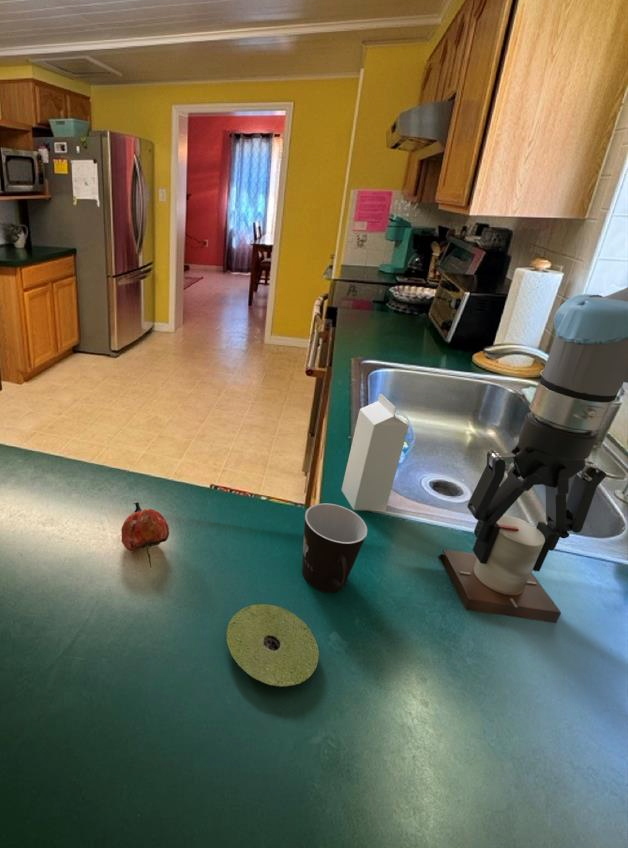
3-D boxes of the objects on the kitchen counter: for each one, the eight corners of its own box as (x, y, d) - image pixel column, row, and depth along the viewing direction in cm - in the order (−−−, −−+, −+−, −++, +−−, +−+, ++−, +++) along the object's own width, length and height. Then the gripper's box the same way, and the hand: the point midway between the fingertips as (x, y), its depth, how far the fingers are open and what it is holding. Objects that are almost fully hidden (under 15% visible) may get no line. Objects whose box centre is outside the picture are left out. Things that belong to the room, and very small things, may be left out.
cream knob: (509, 565, 73) (530, 516, 69) (532, 598, 67) (556, 547, 63) (466, 559, 73) (484, 510, 70) (484, 591, 67) (505, 540, 64)
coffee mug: (303, 547, 77) (314, 496, 73) (358, 569, 73) (372, 517, 69) (280, 595, 67) (290, 540, 63) (341, 624, 63) (356, 566, 60)
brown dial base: (517, 568, 75) (522, 557, 74) (557, 625, 65) (563, 613, 64) (438, 557, 76) (442, 546, 75) (466, 611, 67) (470, 599, 66)
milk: (369, 498, 90) (397, 393, 82) (384, 518, 85) (414, 408, 76) (338, 497, 90) (363, 392, 82) (351, 518, 84) (378, 407, 76)
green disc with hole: (214, 619, 63) (216, 608, 62) (293, 609, 65) (295, 598, 64) (241, 704, 53) (243, 692, 52) (332, 689, 55) (336, 677, 54)
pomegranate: (172, 567, 74) (163, 504, 79) (175, 560, 67) (165, 492, 72) (125, 575, 73) (118, 510, 78) (123, 568, 66) (116, 499, 71)
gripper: (496, 424, 58) (445, 569, 66) (670, 444, 56) (594, 591, 64) (470, 399, 65) (426, 533, 73) (624, 416, 62) (560, 552, 71)
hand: (505, 560), depth 69 cm, fingers closed on cream knob, 6 cm apart
